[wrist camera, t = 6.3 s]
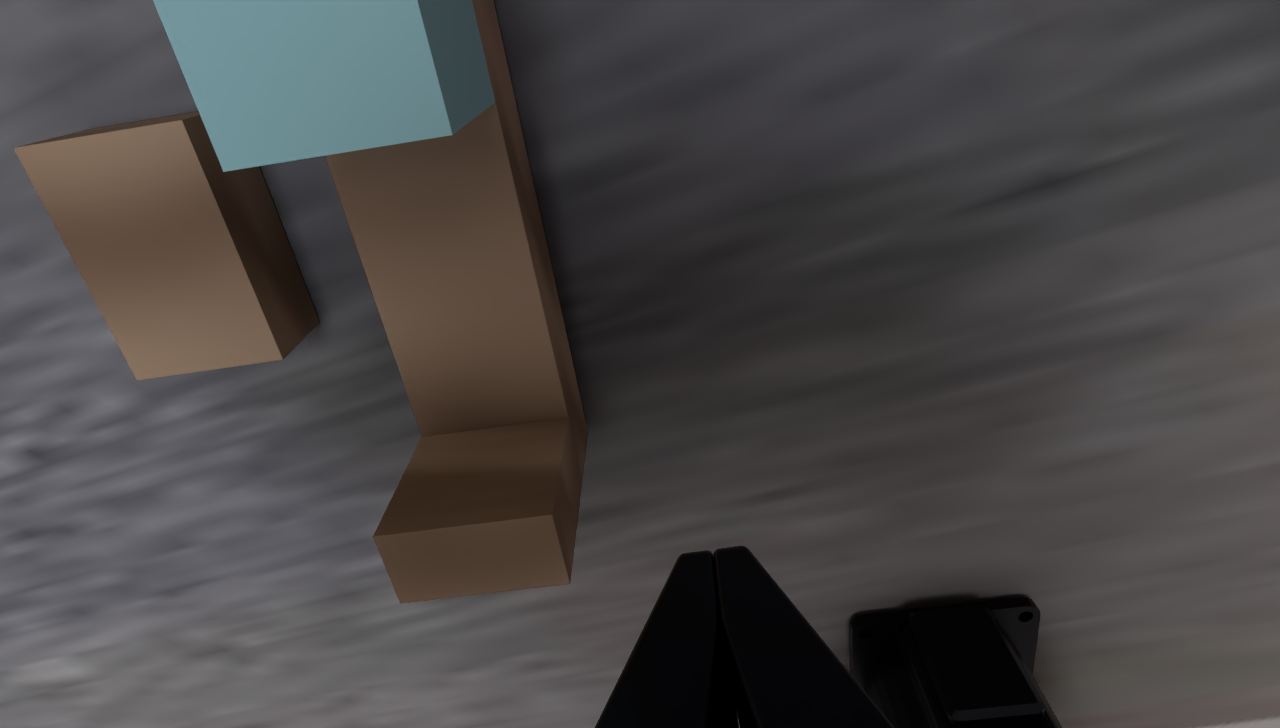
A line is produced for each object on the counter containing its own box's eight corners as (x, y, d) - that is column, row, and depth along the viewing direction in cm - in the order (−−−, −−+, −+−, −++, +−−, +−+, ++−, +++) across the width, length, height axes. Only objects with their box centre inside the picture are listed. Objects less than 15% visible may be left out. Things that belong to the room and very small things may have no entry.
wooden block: (588, 432, 22) (570, 584, 17) (461, 448, 23) (400, 603, 17) (446, -216, 15) (327, -342, 9) (261, -180, 15) (37, -281, 10)
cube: (495, 102, 16) (452, 135, 12) (317, 131, 16) (223, 171, 12) (444, -118, 14) (376, -155, 10) (244, -80, 14) (110, -105, 11)
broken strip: (319, 321, 21) (282, 359, 19) (187, 341, 21) (137, 380, 19) (22, -449, 14) (-92, -529, 12) (-172, -403, 14) (-318, -475, 12)
